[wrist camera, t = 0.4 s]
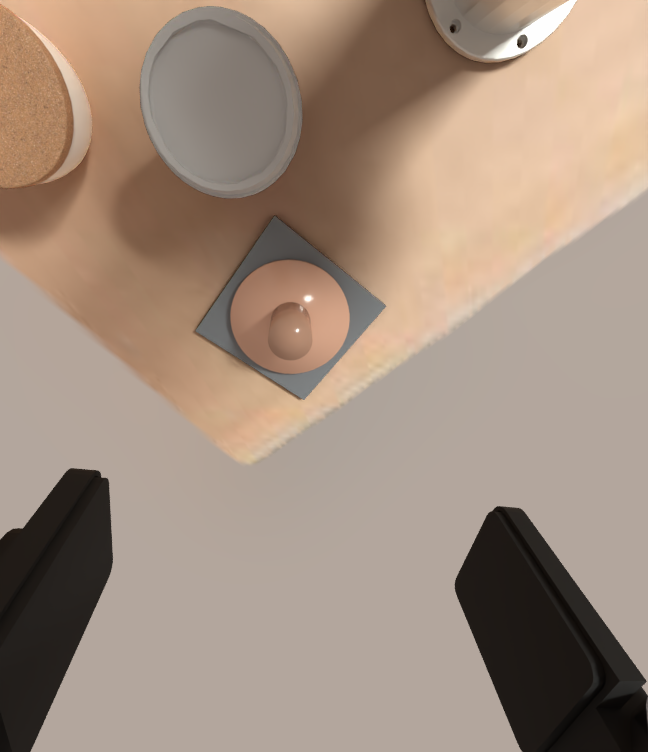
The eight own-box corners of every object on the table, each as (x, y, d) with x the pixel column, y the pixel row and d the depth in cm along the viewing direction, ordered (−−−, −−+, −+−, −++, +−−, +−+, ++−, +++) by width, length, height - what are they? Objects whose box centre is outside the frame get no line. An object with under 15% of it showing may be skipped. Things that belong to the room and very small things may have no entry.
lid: (277, 232, 36) (274, 242, 31) (372, 307, 41) (383, 328, 35) (208, 329, 40) (196, 352, 35) (302, 389, 44) (303, 418, 39)
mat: (274, 215, 36) (274, 216, 36) (384, 304, 41) (386, 306, 41) (196, 328, 41) (195, 331, 40) (303, 397, 46) (303, 400, 45)
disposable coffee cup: (323, 132, 34) (336, 115, 23) (247, 213, 36) (227, 232, 26) (239, 23, 30) (208, -57, 19) (161, 122, 33) (96, 101, 22)
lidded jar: (-57, 105, 31) (-185, 82, 23) (13, -16, 28) (-105, -94, 20) (69, 212, 35) (-1, 225, 27) (141, 116, 32) (88, 97, 24)
